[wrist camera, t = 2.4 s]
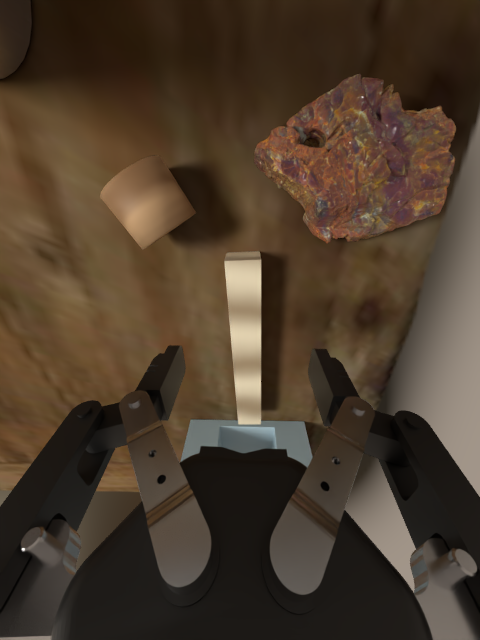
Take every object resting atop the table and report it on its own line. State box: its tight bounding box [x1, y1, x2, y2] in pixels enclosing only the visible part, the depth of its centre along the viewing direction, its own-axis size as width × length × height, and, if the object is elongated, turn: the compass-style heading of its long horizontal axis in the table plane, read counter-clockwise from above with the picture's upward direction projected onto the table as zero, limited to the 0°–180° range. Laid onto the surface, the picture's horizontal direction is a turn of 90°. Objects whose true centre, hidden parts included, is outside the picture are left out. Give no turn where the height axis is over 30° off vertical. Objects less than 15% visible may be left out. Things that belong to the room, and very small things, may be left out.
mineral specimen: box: [254, 74, 456, 243], centre depth 15 cm, size 12×8×7 cm
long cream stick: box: [224, 251, 261, 424], centre depth 25 cm, size 22×3×3 cm, turn 3°
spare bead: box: [100, 155, 196, 250], centre depth 16 cm, size 4×5×5 cm
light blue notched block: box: [181, 419, 313, 468], centre depth 30 cm, size 8×17×14 cm, turn 91°
